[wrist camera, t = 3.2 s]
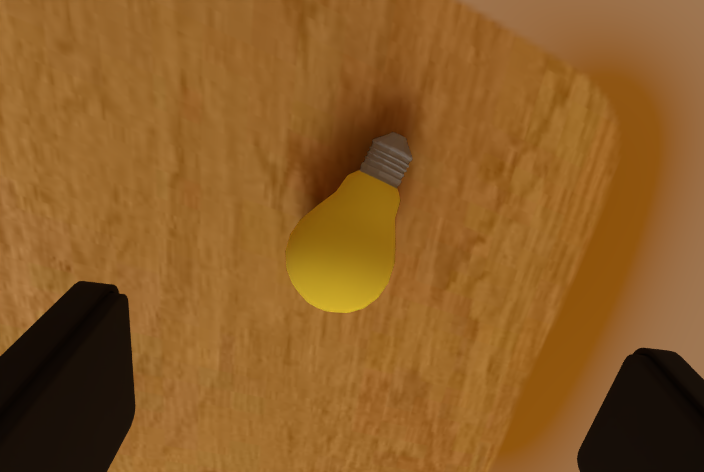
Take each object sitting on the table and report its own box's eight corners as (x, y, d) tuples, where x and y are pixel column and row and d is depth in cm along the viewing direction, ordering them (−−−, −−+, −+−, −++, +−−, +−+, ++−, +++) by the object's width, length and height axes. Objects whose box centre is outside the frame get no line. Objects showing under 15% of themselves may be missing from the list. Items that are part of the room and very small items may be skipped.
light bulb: (287, 274, 17) (253, 291, 13) (357, 123, 16) (341, 99, 13) (370, 317, 17) (357, 346, 13) (445, 164, 16) (453, 151, 12)
